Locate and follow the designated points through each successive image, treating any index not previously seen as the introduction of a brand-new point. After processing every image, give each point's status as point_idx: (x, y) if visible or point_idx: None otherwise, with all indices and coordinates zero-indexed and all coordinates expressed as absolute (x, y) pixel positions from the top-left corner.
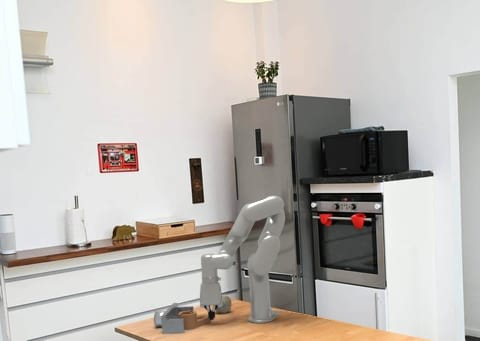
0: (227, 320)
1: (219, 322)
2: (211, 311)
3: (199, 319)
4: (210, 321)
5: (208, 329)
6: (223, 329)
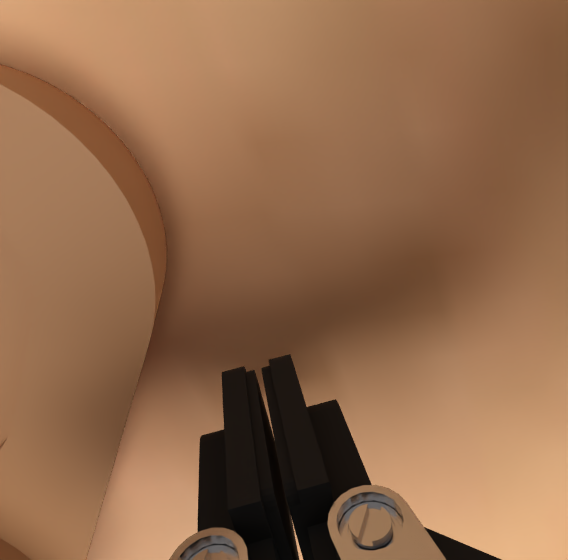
0: (470, 83)
1: (349, 233)
2: (283, 522)
3: (21, 483)
4: (163, 232)
5: (298, 548)
6: (489, 513)
